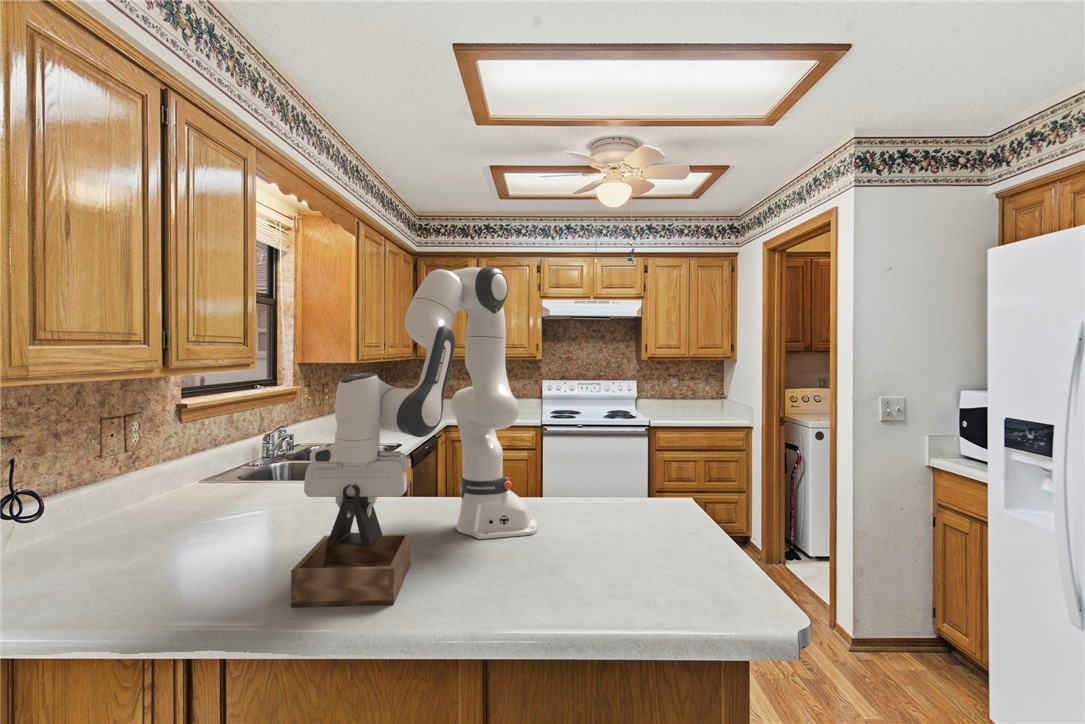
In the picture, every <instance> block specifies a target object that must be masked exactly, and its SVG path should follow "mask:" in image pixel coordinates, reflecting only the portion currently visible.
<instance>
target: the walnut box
mask: <svg viewBox="0 0 1085 724" xmlns="http://www.w3.org/2000/svg"><path fill="white" fill-rule="evenodd" d="M329 537H330V535H324V536H323V537H322V538H320V540H319V541H318V542H317V543H316V544H315V545H314V546H313V547H312V548H311V549H310V550H309V551H308V553H306V555H305V556H304V557H303V558H302V559H301V560H300V561H299V562H298V563H297V564H296V565H295V566H294V567H293V568H292V569H291V570H290V608H320V607H321V608H322V607H323V608H327V607H356V606H357V607H359V606H361V607H362V606H363V607H364V606H393V605H395V602H396V600H397V597H398V595H399V594H400V590H401V588H402V586H403V583H404V580H405V579H406V576H407V573H408V571H409V569H410V567H411V557H412V556H411V544H412V541H411V540H412V538H411V537H412V534H411V533H406V534H405V533H399V534H397V533H395V534H394V533H393V534H392V533H391V534H390V533H389V534H388V533H387V534H382V536H381V537H379V538H378V539H377V540H376V541H375V542H373V543H372V544H371V545H370V546H359V545H350V544H348V545H342V544H329V543H328V540H329Z"/></svg>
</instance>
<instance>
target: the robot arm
mask: <svg viewBox="0 0 1085 724" xmlns="http://www.w3.org/2000/svg"><path fill="white" fill-rule="evenodd" d="M508 284H509V283H508V279H507V277H506V276H505V274H504V273H503V272H502V270H501V269H499V268H495V267H492V266H491V267H490V266H485V267H475V266H474V267H465V268H464V267H463V268H461V269H459V268H458V269H455V270H446V269H439V268H438V269H435V270H432V271H430V272H429V273H428V274H427V275H426V277H425V278H424V280H423V281H422V282H421V284H420V285H419V286H418V289H417V290H416V292H415V294H414V296H413V298H412V300H411V302H410V304H409V306H408V309H407V311H406V313H405V316H404V327H405V331H406V332H407V334H408V336H409V337H410V338H411V340H413V341H414V342H415V343H417V344H418V345H420V346H421V347H423V348H424V349H425V350H426V356H425V360H424V363H423V367H422V371H421V375H420V377H419V381H418V383H417V385H416V386H415V387H412V388H401V387H394V386H393V385H390V384H388V383H386V382H384V381H383V380H381V379H380V378H379V377H378V375H377V374H376V373H373V372H361V373H360V372H359V373H358V372H357V373H352V374H348V375H344V377H342V378H340V380H339V382H338V385H337V388H336V394H335V404H334V405H335V406H334V407H335V408H334V415H335V421H336V429H335V430H336V431H335V434H334V443H329V444H326V445H323V446H321V447H318V448H316V449H314V450H313V451H311V452H310V453H309V461H310V462H311V463H310V464H308V466H307V468H306V470H305V476H304V483H303V492H304V494H305V495H306V496H307V497H308V498H335V504H336V506H337V507H338V509H340V507H341V504H342V502H343V489H344V488H345V487H346V486H348V485H351V486H349V487H348V488H347V490H346V493H347V495H348V496H349V497H354V496H355V490H354V488H352V486H353V485H357V486H358V487H359V488H360V497H368V502H371V503H370V504H369V506H368V508H367V509H366V511H367V514H368V517H369V518H370V515H371V508H372V507H374V505H375V503H376V502H377V500H378V498H389V497H390V498H393V497H395V498H396V497H397V498H398V497H399V498H401V497H402V496H403V495H404V494H405V493H406V492H407V490H408V481H407V479H408V478H407V470H408V468H409V458H408V456H407V455H406V454H404V453H402V451H400V450H395V451H388V450H381V449H380V448H381V447H380V441H381V440H380V439H381V434H380V431H381V430H382V431H388V432H393V433H399V434H400V433H401V434H405V435H408V436H412V437H414V438H415V437H416V438H425V437H427V436H429V435H431V433H433V432H434V431H435V430H436V429H437V428H438V426H439V425H440V423H441V421H442V417H443V413H444V410H443V409H444V397H445V392H446V388H447V385H448V380H449V376H450V371H451V366H452V363H453V359H454V353H455V348H456V337H455V333H454V332H453V325H454V322H455V319H456V317H457V313H458V311H466V313H467V316H468V317H467V321H466V331H465V332H466V333H465V336H466V337H465V350H464V351H465V353H464V355H465V357H464V358H465V359H464V364H465V368H466V369H467V371H468V373H469V376H470V379H471V381H470V382H471V384H472V386H468V387H464V388H461V389H459V390H458V391H456V392H455V393H454V394H453V396H452V398H451V401H450V409H451V413H452V415H453V416H454V417H455V420H456V423H457V428H458V432H459V437H460V442H461V448H462V476H461V478H460V492H459V493H460V497H461V503H460V510H459V515H458V519H457V523H456V526H455V528H456V530H457V532H458V533H461V534H464V535H468V536H471V537H473V538H475V539H478V540H484V539H485V540H486V539H496V538H508V537H519V536H530V535H533V534H535V533H536V532H537V531H538V522H537V520H536V519H535V518H534V517H533V516H531V515H530V510H529V506H528V504H527V502H526V501H525V500H524V498H521V497H520V496H518V494H516V493H515V492H513V491H512V490H511V488H512V482H511V481H510V479H509V477H508V476H504V475H503V470H504V468H503V463H504V462H503V458H504V457H503V456H504V454H503V453H504V451H503V447H502V445H501V444H502V443H500V441H499V439H498V437H497V432H496V430H498V431H499V430H505V429H508V428H510V427H511V426H512V425H514V423H516V421H517V419H518V416H519V412H520V407H519V403H518V400H517V398H516V397H515V396H514V394H513V392H512V390H511V387H510V384H509V380H508V375H507V374H508V373H507V369H506V349H507V348H506V345H507V341H506V340H507V329H506V328H507V327H506V325H507V324H506V315H505V311H504V310H505V309H504V304H505V302H506V300H507V298H508V295H509V294H508V292H509V285H508ZM348 513H349V511H348ZM350 515H351V514H347V518H349V517H350Z"/></svg>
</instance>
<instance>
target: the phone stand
mask: <svg viewBox="0 0 1085 724" xmlns="http://www.w3.org/2000/svg"><path fill="white" fill-rule="evenodd" d="M349 486H351V485H348V486H346V487H345V488H344V489H343V502H342V504H341V507H340V508H339V510H338V513H337V516H336V519H335V522H334V524H333V526H332V530H331V533H330V537H329V540H328V543H329V544H342V545H348V544H350V545H359V546H370V545H371V544H372V543H373V542H375V541H376V540H377V539H378V538H379V537H381V536H382V535H383V532H382V529H381V526H380V523H379V519H378V516H377V513H376V510H375V508H374V506H373V507H372V508H371V515H370V518H369V517H368V514H367V511H366V509H367V508H368V506H369V504H370V503H371V502H368V497H360V488H359V487H358V486H357V485H353V486H352V488H354V490H355V496H354V497H349V496H348V495H347V493H346V490H347V488H348V487H349ZM348 511H349V513H348ZM347 514H351V515H350V517H349V518H347ZM354 519H355V520H356V521H355V522H356V525H357V528H358V532H351V530H352V527H353V523H354Z"/></svg>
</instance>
